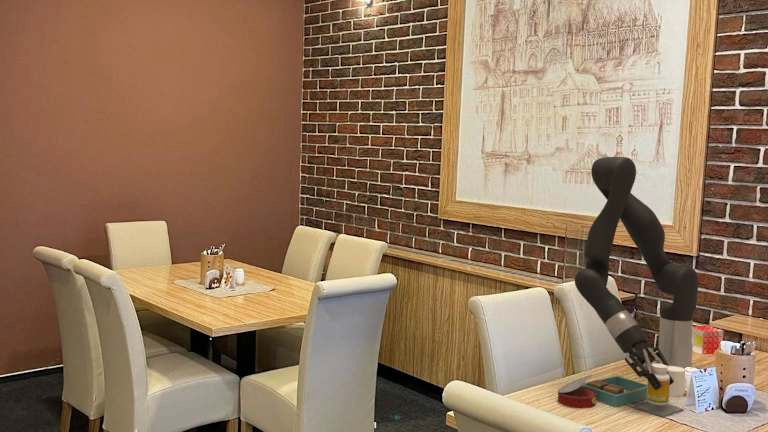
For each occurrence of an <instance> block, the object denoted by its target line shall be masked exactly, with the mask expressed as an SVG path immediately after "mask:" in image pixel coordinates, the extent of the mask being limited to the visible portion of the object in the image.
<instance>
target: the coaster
mask: <svg viewBox="0 0 768 432" xmlns="http://www.w3.org/2000/svg"><path fill="white" fill-rule="evenodd" d="M631 407H632V409H636V410H638V411H641V412H645V413H648V414H651V415H654V416H656V417H660V418H666V416H667V417H669V415H670V416H673V415H675V414H674V413H676V414H679V413H682V411H683V412H684V411H685V410H684V409H685V408H682V407H679V406H676V405H673V404H669V403H668V404H666V405H655V404H652V403H649V402H648V401H647V400H646V401H643V402H640V403H636V404H633V405H632V406H631ZM678 412H679V413H678ZM672 414H673V415H672Z"/></svg>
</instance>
